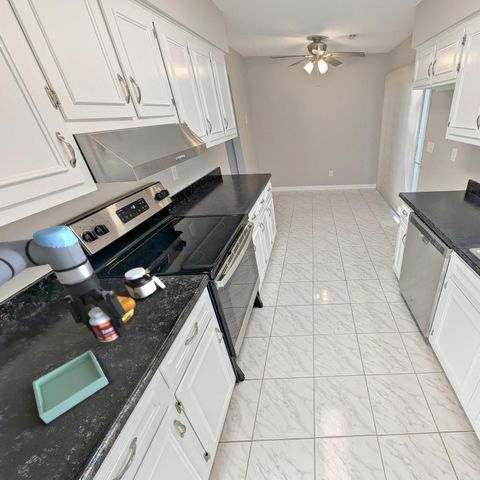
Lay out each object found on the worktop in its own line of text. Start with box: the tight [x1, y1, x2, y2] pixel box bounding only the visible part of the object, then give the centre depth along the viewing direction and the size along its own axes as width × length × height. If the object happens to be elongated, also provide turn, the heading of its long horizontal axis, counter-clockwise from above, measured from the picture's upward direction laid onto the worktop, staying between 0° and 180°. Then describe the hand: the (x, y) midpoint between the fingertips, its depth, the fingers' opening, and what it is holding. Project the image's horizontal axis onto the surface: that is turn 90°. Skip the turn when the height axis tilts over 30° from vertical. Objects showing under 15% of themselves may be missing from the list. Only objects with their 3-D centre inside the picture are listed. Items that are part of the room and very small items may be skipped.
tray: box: [32, 349, 110, 425], centre depth 72 cm, size 15×13×3 cm
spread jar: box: [124, 267, 167, 301], centre depth 108 cm, size 12×11×12 cm
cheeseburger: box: [115, 295, 137, 323], centre depth 95 cm, size 10×11×10 cm
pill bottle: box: [88, 306, 120, 343], centre depth 82 cm, size 6×6×11 cm
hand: (111, 334), depth 84 cm, fingers closed on pill bottle, 6 cm apart
